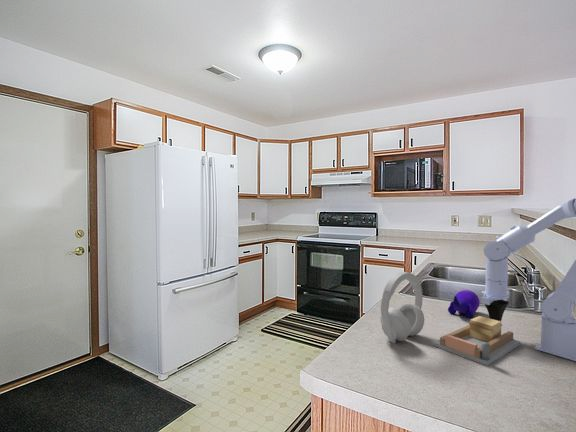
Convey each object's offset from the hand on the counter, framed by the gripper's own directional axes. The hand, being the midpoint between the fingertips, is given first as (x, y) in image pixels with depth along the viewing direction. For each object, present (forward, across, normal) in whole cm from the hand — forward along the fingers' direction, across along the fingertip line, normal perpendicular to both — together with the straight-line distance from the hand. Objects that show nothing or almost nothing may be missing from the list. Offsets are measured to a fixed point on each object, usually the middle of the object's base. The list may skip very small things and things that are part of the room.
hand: (495, 323), depth 98 cm
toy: (+4, -12, -16) cm, 20 cm away
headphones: (+4, +25, -16) cm, 30 cm away
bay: (+4, +12, 0) cm, 13 cm away
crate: (+3, +7, 0) cm, 7 cm away
